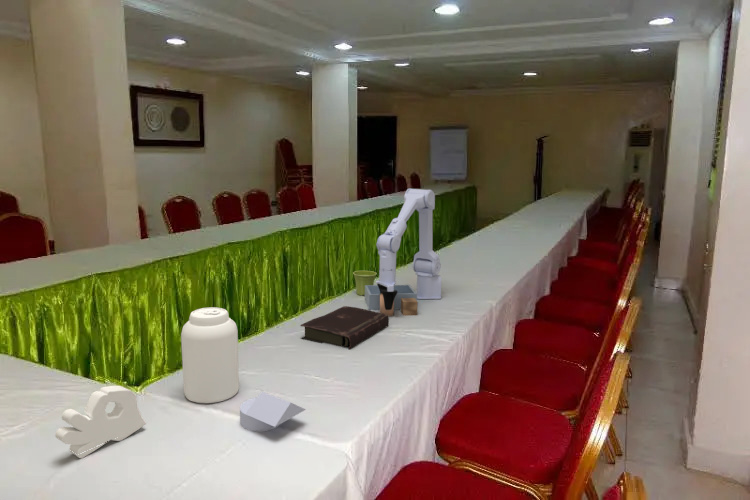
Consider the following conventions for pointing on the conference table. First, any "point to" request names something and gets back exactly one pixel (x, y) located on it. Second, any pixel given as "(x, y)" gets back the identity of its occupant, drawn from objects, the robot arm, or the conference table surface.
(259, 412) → the wedge on round base
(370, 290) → the box
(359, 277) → the plant pot
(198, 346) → the can
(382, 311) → the terracotta cylinder
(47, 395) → the conference table surface
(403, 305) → the walnut cube
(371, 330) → the diary
